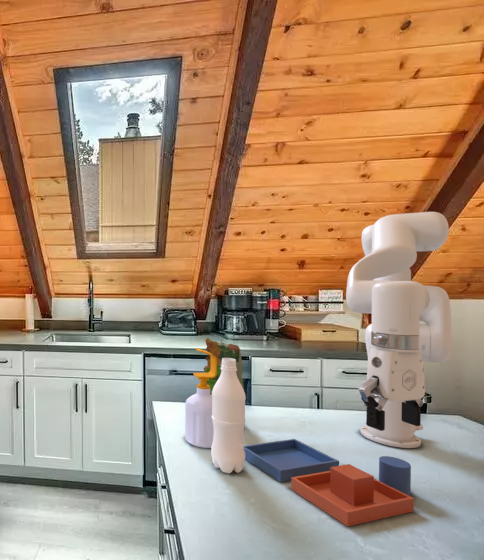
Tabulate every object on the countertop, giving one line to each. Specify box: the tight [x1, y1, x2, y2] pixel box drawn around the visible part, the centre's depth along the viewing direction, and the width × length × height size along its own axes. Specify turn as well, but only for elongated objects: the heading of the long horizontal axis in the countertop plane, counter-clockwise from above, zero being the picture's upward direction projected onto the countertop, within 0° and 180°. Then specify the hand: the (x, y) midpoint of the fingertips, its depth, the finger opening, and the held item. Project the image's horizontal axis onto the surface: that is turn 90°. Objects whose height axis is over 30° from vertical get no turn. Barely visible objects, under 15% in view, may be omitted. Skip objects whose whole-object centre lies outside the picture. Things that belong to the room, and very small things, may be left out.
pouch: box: [203, 337, 246, 427], centre depth 114 cm, size 11×12×25 cm
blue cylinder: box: [378, 455, 412, 497], centre depth 79 cm, size 5×5×6 cm
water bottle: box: [210, 358, 247, 474], centre depth 88 cm, size 7×7×25 cm
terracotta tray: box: [290, 471, 415, 527], centre depth 76 cm, size 16×12×2 cm
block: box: [330, 463, 375, 506], centre depth 76 cm, size 5×5×5 cm
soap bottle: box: [184, 347, 217, 449], centre depth 102 cm, size 9×9×25 cm
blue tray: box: [244, 438, 340, 483], centre depth 90 cm, size 16×12×2 cm
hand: (393, 425), depth 78 cm, fingers open, 9 cm apart
